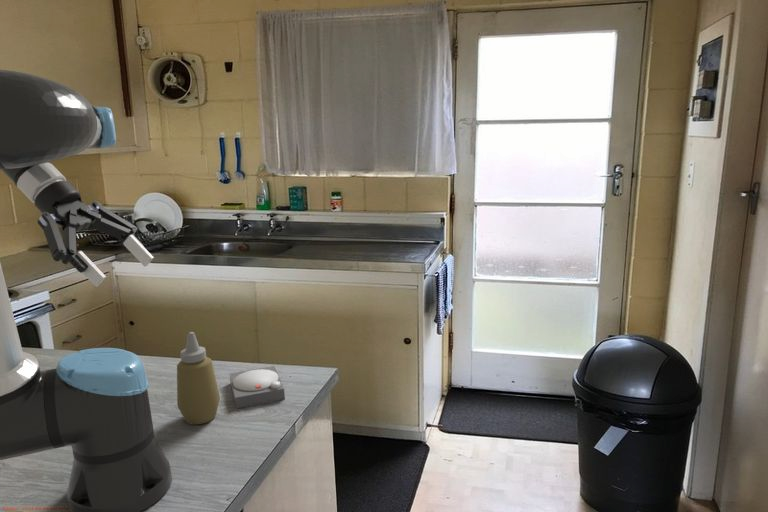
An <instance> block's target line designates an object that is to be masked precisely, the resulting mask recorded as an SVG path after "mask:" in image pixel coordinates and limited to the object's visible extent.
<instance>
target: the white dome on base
mask: <svg viewBox="0 0 768 512" xmlns="http://www.w3.org/2000/svg"><path fill="white" fill-rule="evenodd" d="M229 379H230V387H231V391H232V396H233V400H234V405H235V409H240V408H245V407H251V406H255V405H256V406H257V405H261V404H265V403H271V402H277V401H280V400H281V401H282V400H285V399H286V397H285V396H286V395H285V387H284V386H283V383H282V380H281V377H280V376H279V373H278V371H277V369H276V366H275V365H272V366H265V367H260V368H255V369H253V368H252V369H248V370H242V371H236V372H231V373H229Z"/></svg>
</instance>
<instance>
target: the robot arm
mask: <svg viewBox="0 0 768 512" xmlns="http://www.w3.org/2000/svg"><path fill="white" fill-rule="evenodd" d="M116 142H117V134H116V126H115V120H114V114H113V112H112V109H110V107H107V106H96V105H92V104H91V103H90V102H89V101H88V100H87V98H86V97H85V96H83V94H81V93H80V92H79V91H77V90H75V89H74V88H71V87H70V86H68V85H66V84H63V83H62V82H61V83H60V82H57V81H55V80H52V79H49V78H47V77H42V76H39V75H35V74H32V73H27V72H22V71H21V72H20V71H17V70H16V71H15V70H11V69H10V70H9V69H0V171H1V172H2V173H4V175H5V176H7V178H8V179H9V180H10V181H11V182H13V184H14V185H15V186H16V188H18V189H19V190H20V192H21V193H22V194H23V195H25V197H26V198H28V199H29V201H30V202H31V203H33V204H34V206H35V208H36V209H37V210H38V211H39V212H40V213H41V215H40V216H39V218H38V220H37V224H38V225H39V226H40V228H41V229H42V230H43V233H44V236H45V239H46V242H47V245H48V247H49V251H50V254H51V257H52V259H53V260H54V261H55V262H60V261H61V262H62V264H64V265H68V264H70V265H72V267H74V268H75V269H76V271H78V272H79V273H82V275H83V276H84V277H86V278H87V279H88V281H90V283H91V284H92V285H93V286H94V287H95V288H96V287H99V286H100V285H101V284H102V283H103V282H104V280H105V279H106V277H107V276H106V274H104V273H103V271H101V269H99V268H98V267H97V265H96V264H95V263H94V262H93V261H92V260H91V259H90V258H89V257H88V256H87V255H86V253H84V252H83V251H82V250H79V251H78V252H77V236H76V234H77V233H76V232H79V231H81V230H88V229H89V230H91V231H93V230H96V231H99V232H101V233H104V234H106V235H109V236H111V237H113V238H116V239H117V240H120V241H123V243H122V245H124V247H125V248H126V250H128V251H129V252H130V253H131V254H132V256H134V257H135V259H136V260H138V262H139V263H140V264H142V266H143V267H147V266H149V264H150V263H151V262H152V260H153V259H154V258H155V257H154V256H153V255H152V253H150V252H149V251H148V250H147V249H146V247H145V246H144V244H143V243H142V242H141V241H140V240H139V239H138V237H137V236H135V234H136V232H137V231H138V227H137V226H136V225H134V224H132V223H130V222H129V221H127V220H126V219H125V218H123V217H121V216H119V215H117V214H116V213H114V212H112V211H111V210H109V209H108V208H106V207H105V206H103V205H102V204H101V203H100V202H99V201H97V200H94V201H93V202H92V203H90V204H89V205H87V204H86V203H84V202H83V201H82V196H81V193H80V192H79V191H78V190H77V189H76V187H74V186H73V184H71V182H70V181H67V178H66V176H64V174H62V172H60V171H59V169H57V168H56V166H54V165H53V163H51V162H54V161H57V160H61V159H64V158H68V157H71V156H75V155H78V154H80V153H81V152H83V151H85V150H86V149H102V148H110V147H114V146H115V145H116ZM93 219H94V220H93ZM58 226H60V228H61V232H60V229H59V227H58ZM10 299H11V298H10V296H9V292H8V289H7V284H6V279H5V276H4V272H3V267H2V263H1V262H0V461H3V460H4V461H5V460H8V459H12V458H13V459H14V458H17V457H22V456H26V455H32V454H36V453H41V452H45V451H46V452H47V451H50V450H51V451H52V450H55V449H58V448H64V447H68V446H70V447H71V449H72V456H73V461H72V466H71V470H70V471H71V472H70V477H69V482H68V486H67V493H66V494H67V495H66V497H67V498H66V499H67V502H68V507H69V511H70V512H142V511H144V510H146V509H148V508H150V507H151V506H153V505H154V504H156V503H157V502H158V501H159V500H161V499H162V498H163V497H164V496H165V495H166V493H167V492H168V490H170V487H171V484H172V481H173V477H172V476H173V475H172V469H171V468H172V467H171V464H170V461H169V459H168V458H167V455H166V454H165V452H164V450H163V449H162V448H161V446H160V444H159V442H158V441H157V439H156V437H155V432H154V431H155V430H154V423H153V418H152V411H151V403H150V398H149V392H148V391H149V390H148V389H149V380H148V378H147V376H146V375H147V374H146V371H145V370H146V369H145V365H144V362H143V360H142V359H141V358H140V357H139V356H138V355H137V354H136V353H134V352H132V351H129V350H125V349H122V348H118V347H117V348H116V347H96V348H94V347H93V348H87V349H81V350H78V351H77V352H71V353H69V354H67V355H65V356H63V357H61V358H60V359H59V361H58V363H57V365H56V367H55V368H52V369H51V368H50V369H45V370H44V369H43V370H41V369H40V365H39V360H38V359H37V358H36V356H34V355H33V354H31V353H29V352H25V351H23V348H22V344H21V340H20V336H19V332H18V327H17V323H16V319H15V317H14V312H13V307H12V303H11V301H10Z"/></svg>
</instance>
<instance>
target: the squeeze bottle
mask: <svg viewBox="0 0 768 512" xmlns="http://www.w3.org/2000/svg"><path fill="white" fill-rule="evenodd" d="M186 337H187V338H186V345H185V348H184V349H181V351H180V361H178V363H177V364H176V382H177V383H176V390H177V392H176V393H177V394H176V396H177V397H176V398H177V400H176V401H177V409H178V410H179V411H180V414H181V415H182V417H183V419H184V420H185V422H186V423H188V424H189V425H201V424H202V425H203V424H206V423H208V422H211V421H212V420H213V419H215V417H216V415H217V413H218V412H217V411H218V408H219V404H220V399H221V396H220V392H219V388H218V383H217V379H216V374H215V370H214V365H213V360H212V358H210V357H208V356H207V350H206V347H204V346H199V342H198V340H197V336H196V334H195V331H194V332H193V331H189V332H188V333H187V336H186Z"/></svg>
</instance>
